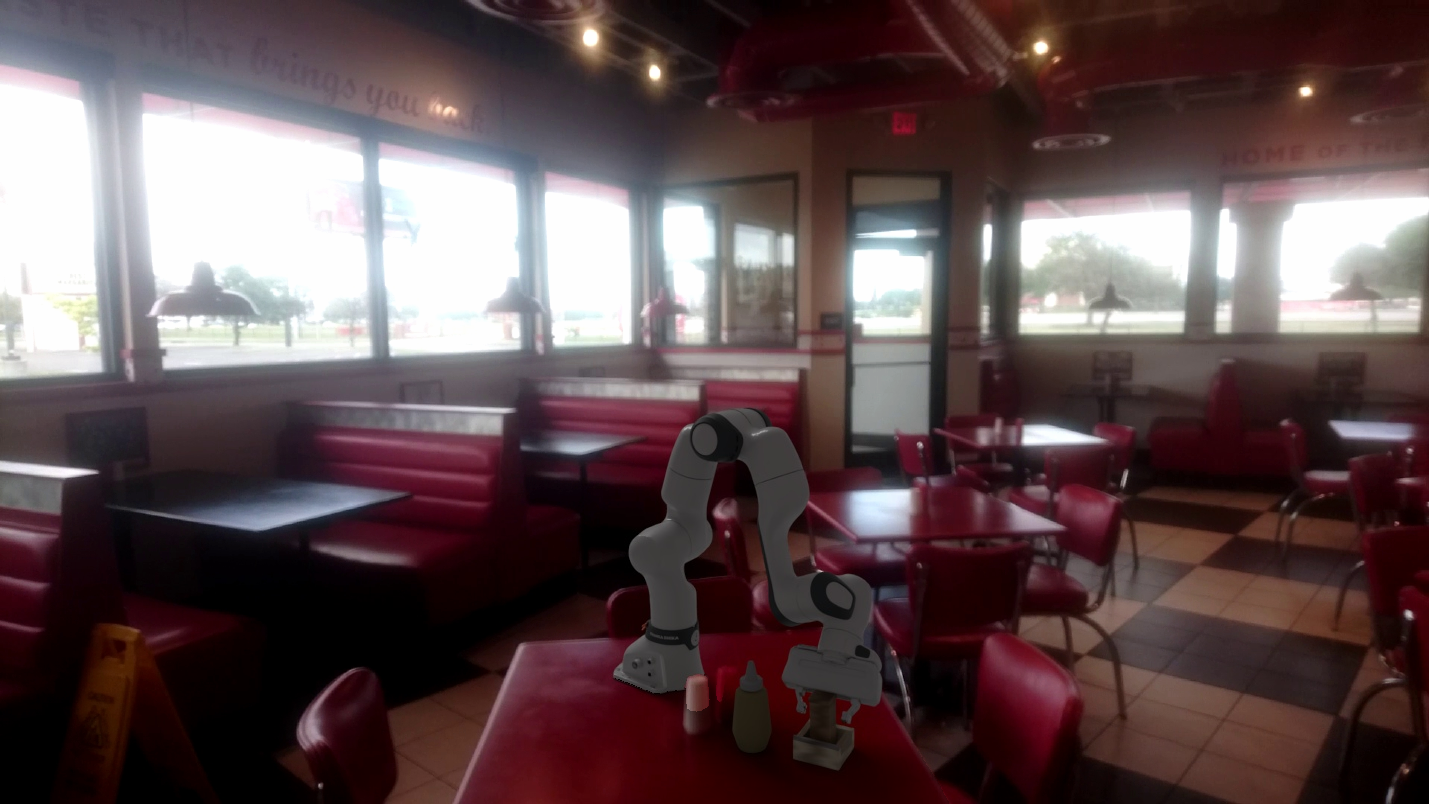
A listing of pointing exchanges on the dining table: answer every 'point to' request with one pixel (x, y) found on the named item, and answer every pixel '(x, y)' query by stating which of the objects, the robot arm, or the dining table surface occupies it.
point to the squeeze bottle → (751, 713)
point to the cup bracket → (823, 747)
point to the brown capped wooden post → (823, 716)
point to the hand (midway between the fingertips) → (822, 717)
